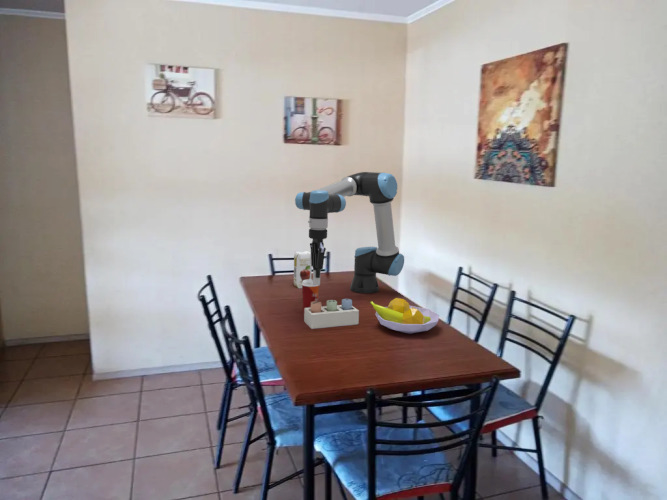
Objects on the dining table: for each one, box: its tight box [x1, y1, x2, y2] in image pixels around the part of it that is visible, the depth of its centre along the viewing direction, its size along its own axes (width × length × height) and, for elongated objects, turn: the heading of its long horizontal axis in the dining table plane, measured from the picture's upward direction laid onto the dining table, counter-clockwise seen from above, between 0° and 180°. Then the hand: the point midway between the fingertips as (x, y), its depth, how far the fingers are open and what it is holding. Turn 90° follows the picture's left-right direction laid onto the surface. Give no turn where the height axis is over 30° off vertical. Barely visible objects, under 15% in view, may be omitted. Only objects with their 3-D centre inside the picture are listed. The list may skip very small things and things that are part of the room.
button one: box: [341, 298, 353, 310], centre depth 220 cm, size 4×4×6 cm
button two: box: [325, 299, 338, 312], centre depth 217 cm, size 4×4×6 cm
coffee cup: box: [301, 278, 320, 314], centre depth 229 cm, size 8×8×15 cm
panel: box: [303, 304, 360, 330], centre depth 218 cm, size 21×10×6 cm, turn 111°
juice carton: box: [293, 250, 313, 289], centre depth 275 cm, size 8×9×19 cm
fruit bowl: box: [369, 297, 440, 334], centre depth 214 cm, size 28×27×11 cm
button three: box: [311, 300, 322, 313], centre depth 215 cm, size 4×4×6 cm
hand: (316, 284), depth 213 cm, fingers closed
